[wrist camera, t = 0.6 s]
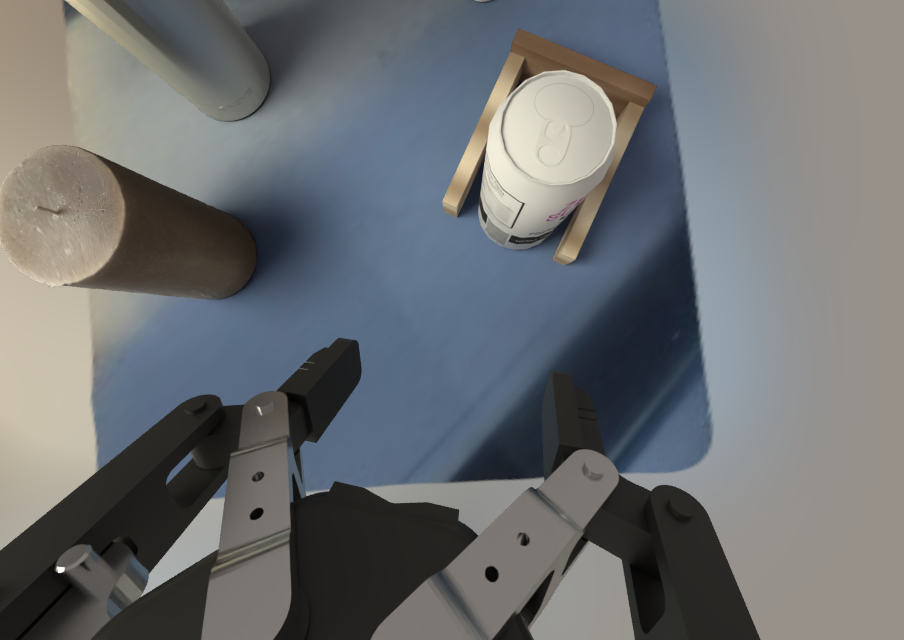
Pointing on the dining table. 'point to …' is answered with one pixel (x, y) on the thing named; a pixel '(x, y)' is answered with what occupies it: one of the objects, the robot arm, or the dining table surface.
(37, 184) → the pillar candle
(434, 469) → the dining table surface
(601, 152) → the supplement can
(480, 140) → the bay
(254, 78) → the robot arm
